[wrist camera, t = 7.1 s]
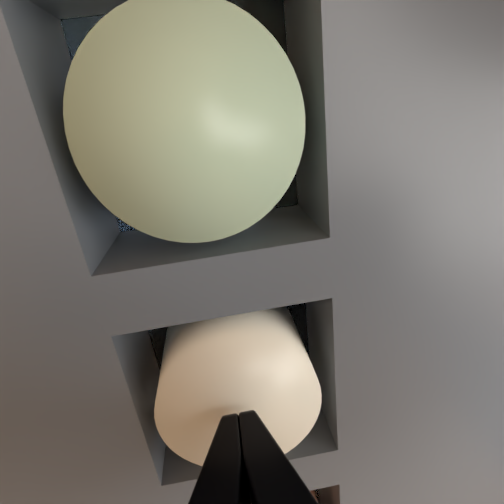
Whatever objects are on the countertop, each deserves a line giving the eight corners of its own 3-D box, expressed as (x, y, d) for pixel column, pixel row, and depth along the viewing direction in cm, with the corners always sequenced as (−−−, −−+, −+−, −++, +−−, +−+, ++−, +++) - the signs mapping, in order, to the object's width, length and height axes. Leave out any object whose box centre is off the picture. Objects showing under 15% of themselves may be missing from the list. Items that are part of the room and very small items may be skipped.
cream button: (290, 273, 11) (317, 326, 9) (299, 379, 13) (324, 451, 10) (152, 295, 11) (135, 358, 8) (180, 401, 13) (173, 482, 10)
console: (522, -47, 9) (659, -113, 6) (448, 474, 17) (496, 546, 14) (-235, 36, 8) (-469, -2, 5) (62, 557, 16) (31, 653, 13)
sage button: (267, 17, 9) (297, -25, 6) (282, 193, 10) (311, 225, 8) (83, 38, 8) (23, 4, 6) (130, 217, 10) (103, 258, 7)
